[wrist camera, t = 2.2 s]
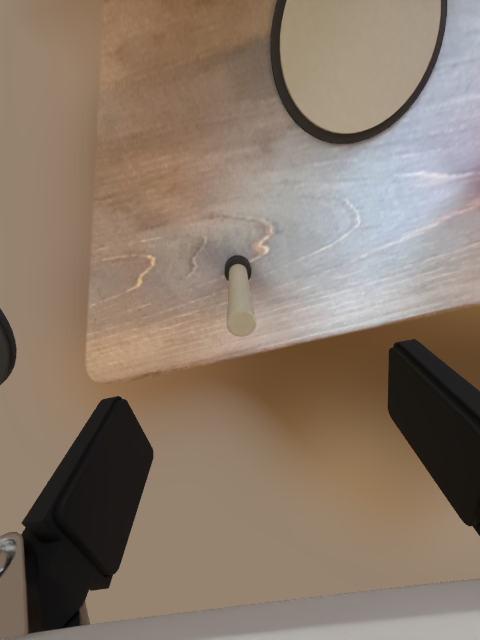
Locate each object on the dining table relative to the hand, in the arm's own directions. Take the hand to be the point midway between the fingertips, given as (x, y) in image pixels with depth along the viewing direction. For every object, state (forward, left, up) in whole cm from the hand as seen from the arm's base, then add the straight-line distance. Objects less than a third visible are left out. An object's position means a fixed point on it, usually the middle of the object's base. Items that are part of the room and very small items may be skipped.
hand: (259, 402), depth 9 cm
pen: (-1, 0, -18) cm, 18 cm away
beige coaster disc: (-7, +17, -18) cm, 25 cm away
